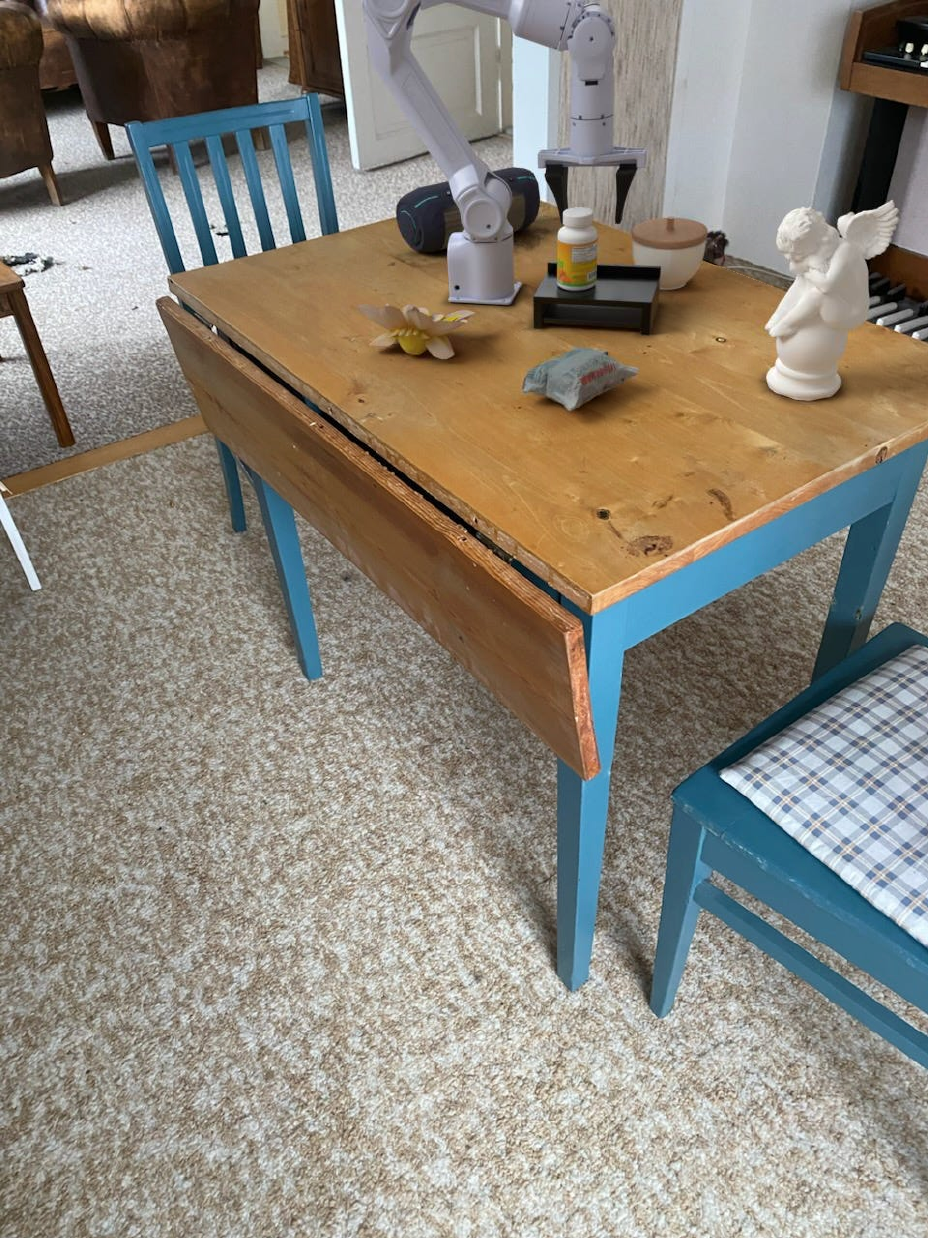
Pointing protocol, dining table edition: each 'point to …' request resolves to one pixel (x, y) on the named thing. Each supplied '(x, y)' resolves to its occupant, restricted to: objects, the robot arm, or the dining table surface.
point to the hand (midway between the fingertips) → (591, 221)
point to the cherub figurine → (823, 295)
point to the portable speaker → (437, 216)
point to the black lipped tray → (601, 298)
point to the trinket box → (670, 248)
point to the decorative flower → (415, 328)
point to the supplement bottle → (577, 250)
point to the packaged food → (577, 376)
